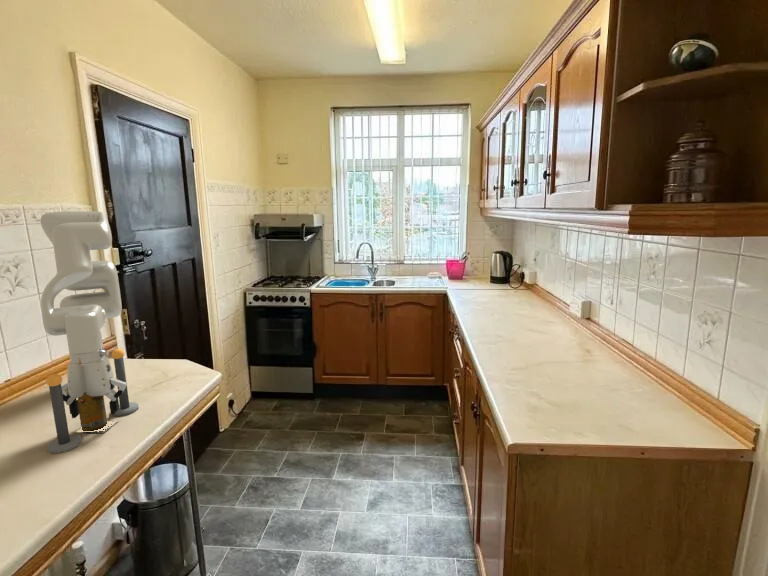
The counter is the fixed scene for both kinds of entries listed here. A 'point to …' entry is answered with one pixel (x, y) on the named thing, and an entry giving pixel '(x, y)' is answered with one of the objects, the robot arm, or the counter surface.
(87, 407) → the condiment
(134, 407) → the stand
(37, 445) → the counter surface
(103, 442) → the counter surface
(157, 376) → the counter surface
